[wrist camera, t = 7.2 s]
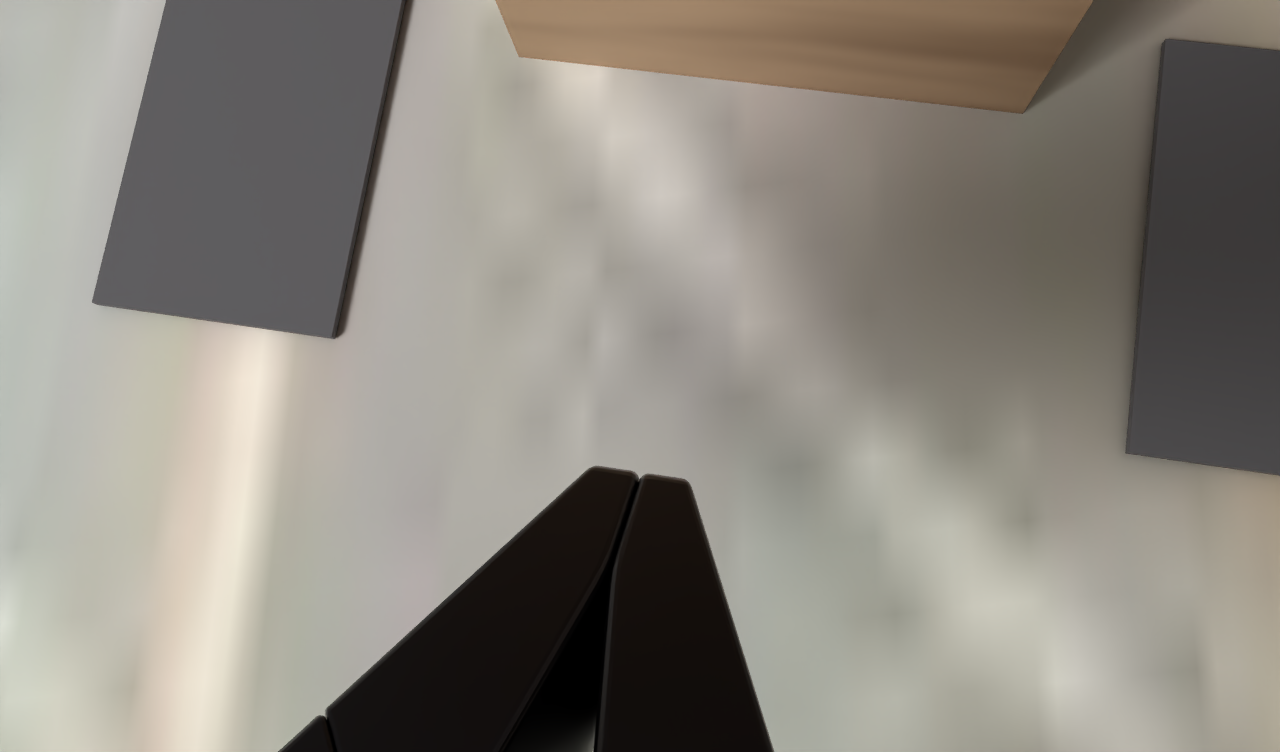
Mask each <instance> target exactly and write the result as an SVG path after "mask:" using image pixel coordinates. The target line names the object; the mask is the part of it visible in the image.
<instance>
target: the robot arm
mask: <svg viewBox="0 0 1280 752" xmlns="http://www.w3.org/2000/svg"><path fill="white" fill-rule="evenodd" d="M325 716H326V718H325V717H324V716H321V715H320V716H317V717H316V718H314V719H313V720H312V721H311V722H310V723H309V724H308V725H307V726H306V727H305V728H304V729H303V730H302V731H300V732H299V733H298V734H297V735H296V736H295V737H294V738H293V739H292V740H291V741H290V742H288V743H287V744H286V745H285V746H284V747H283V748H282V749H281V750H279V751H278V752H592V751H593V752H774V750H773V746H772V743H771V740H770V737H769V734H768V730H767V727H766V724H765V721H764V718H763V714H762V711H761V708H760V705H759V702H758V698H757V695H756V692H755V689H754V686H753V682H752V679H751V676H750V673H749V670H748V666H747V663H746V660H745V657H744V654H743V650H742V647H741V644H740V641H739V637H738V634H737V631H736V628H735V625H734V621H733V618H732V615H731V612H730V609H729V605H728V602H727V599H726V596H725V593H724V589H723V586H722V583H721V580H720V577H719V573H718V570H717V567H716V564H715V561H714V557H713V554H712V551H711V548H710V545H709V541H708V538H707V535H706V532H705V529H704V525H703V522H702V519H701V516H700V513H699V509H698V506H697V503H696V500H695V496H694V493H693V490H692V487H691V485H690V484H689V482H688V481H686V480H685V479H681V478H675V477H668V476H662V475H655V474H645V475H643V476H642V477H641V479H640V480H639V477H638V475H637V474H636V473H635V472H633V471H629V470H622V469H616V468H609V467H603V466H594V467H591V468H589V469H588V470H586V471H585V472H584V473H583V474H582V475H581V476H580V477H579V478H578V479H577V480H576V481H574V482H573V483H572V484H571V485H570V486H569V487H568V488H567V489H566V490H565V491H563V492H562V493H561V494H560V495H559V496H558V497H557V498H556V499H555V500H554V501H553V502H551V503H550V504H549V505H548V506H547V507H546V508H545V509H544V510H543V511H542V512H541V513H539V514H538V515H537V516H536V517H535V518H534V519H533V520H532V521H531V522H530V523H529V524H527V525H526V526H525V527H524V528H523V529H522V530H521V531H520V532H519V533H518V534H516V535H515V536H514V537H513V538H512V539H511V540H510V541H509V542H508V543H507V544H506V545H504V546H503V547H502V548H501V549H500V550H499V551H498V552H497V553H496V554H495V555H494V556H492V557H491V558H490V559H489V560H488V561H487V562H486V563H485V564H484V565H483V566H481V567H480V568H479V569H478V570H477V571H476V572H475V573H474V574H473V575H472V576H471V577H469V578H468V579H467V580H466V581H465V582H464V583H463V584H462V585H461V586H460V587H459V588H457V589H456V590H455V591H454V592H453V593H452V594H451V595H450V596H449V597H448V598H447V599H445V600H444V601H443V602H442V603H441V604H440V605H439V606H438V607H437V608H436V609H434V610H433V611H432V612H431V613H430V614H429V615H428V616H427V617H426V618H425V619H424V620H422V621H421V622H420V623H419V624H418V625H417V626H416V627H415V628H414V629H413V630H412V631H410V632H409V633H408V634H407V635H406V636H405V637H404V638H403V639H402V640H401V641H400V642H398V643H397V644H396V645H395V646H394V647H393V648H392V649H391V650H390V651H389V652H387V653H386V654H385V655H384V656H383V657H382V658H381V659H380V660H379V661H378V662H377V663H375V664H374V665H373V666H372V667H371V668H370V669H369V670H368V671H367V672H366V673H365V674H363V675H362V676H361V677H360V678H359V679H358V680H357V681H356V682H355V683H354V684H352V685H351V686H350V687H349V688H348V689H347V690H346V691H345V692H344V693H343V694H342V695H340V696H339V697H338V698H337V699H336V700H335V701H334V702H333V703H332V704H331V705H330V706H328V707H327V708H326V710H325ZM593 748H594V750H593Z"/></svg>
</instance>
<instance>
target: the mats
mask: <svg viewBox="0 0 1280 752" xmlns="http://www.w3.org/2000/svg"><path fill="white" fill-rule="evenodd" d="M405 1H406V0H166V3H165V7H164V11H163V16H162V20H161V24H160V28H159V32H158V36H157V40H156V44H155V48H154V52H153V56H152V60H151V64H150V68H149V72H148V76H147V81H146V85H145V89H144V93H143V97H142V101H141V105H140V109H139V113H138V117H137V121H136V125H135V129H134V133H133V137H132V141H131V146H130V150H129V154H128V158H127V162H126V166H125V170H124V174H123V178H122V182H121V186H120V190H119V194H118V198H117V202H116V206H115V211H114V215H113V219H112V223H111V227H110V231H109V235H108V239H107V243H106V247H105V251H104V255H103V259H102V263H101V267H100V271H99V275H98V280H97V284H96V288H95V292H94V296H93V300H92V303H95V304H97V305H103V306H110V307H117V308H124V309H131V310H137V311H144V312H151V313H158V314H165V315H172V316H179V317H186V318H193V319H200V320H207V321H214V322H221V323H228V324H234V325H241V326H248V327H255V328H262V329H269V330H276V331H283V332H290V333H297V334H304V335H311V336H318V337H324V338H331V339H335V337H336V332H337V327H338V323H339V318H340V313H341V308H342V303H343V299H344V294H345V289H346V284H347V279H348V275H349V270H350V265H351V260H352V255H353V251H354V246H355V241H356V236H357V231H358V227H359V222H360V217H361V212H362V207H363V203H364V198H365V193H366V188H367V183H368V179H369V174H370V169H371V164H372V159H373V155H374V150H375V145H376V140H377V135H378V131H379V126H380V121H381V116H382V112H383V107H384V102H385V97H386V92H387V88H388V83H389V78H390V73H391V68H392V64H393V59H394V54H395V49H396V44H397V40H398V35H399V30H400V25H401V20H402V16H403V11H404V6H405ZM1125 453H1128V454H1135V455H1142V456H1148V457H1155V458H1162V459H1169V460H1176V461H1183V462H1190V463H1197V464H1204V465H1211V466H1218V467H1225V468H1232V469H1239V470H1245V471H1252V472H1259V473H1266V474H1273V475H1280V51H1277V50H1268V49H1258V48H1248V47H1239V46H1229V45H1220V44H1210V43H1201V42H1191V41H1181V40H1172V39H1165V40H1164V42H1163V43H1162V47H1161V59H1160V70H1159V81H1158V92H1157V104H1156V115H1155V126H1154V137H1153V149H1152V160H1151V171H1150V182H1149V194H1148V205H1147V216H1146V227H1145V239H1144V250H1143V261H1142V272H1141V284H1140V295H1139V306H1138V317H1137V328H1136V340H1135V351H1134V362H1133V373H1132V385H1131V396H1130V407H1129V418H1128V430H1127V441H1126V452H1125Z"/></svg>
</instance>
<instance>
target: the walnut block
mask: <svg viewBox="0 0 1280 752" xmlns="http://www.w3.org/2000/svg"><path fill="white" fill-rule="evenodd" d="M1092 2H1093V0H496V3H497V5H498V8H499V10H500V12H501V15H502V17H503V20H504V22H505V24H506V27H507V29H508V32H509V34H510V36H511V39H512V41H513V44H514V46H515V48H516V51H517V53H518V55H519V57H525V58H534V59H542V60H551V61H560V62H569V63H578V64H587V65H596V66H605V67H613V68H622V69H631V70H640V71H649V72H658V73H667V74H676V75H684V76H693V77H702V78H711V79H720V80H729V81H738V82H747V83H755V84H764V85H773V86H782V87H791V88H800V89H809V90H818V91H826V92H835V93H844V94H853V95H862V96H871V97H880V98H889V99H897V100H906V101H915V102H924V103H933V104H942V105H951V106H960V107H968V108H977V109H986V110H995V111H1004V112H1013V113H1022V114H1023V113H1024V111H1025V109H1026V108H1027V106H1028V105H1029V103H1030V101H1031V100H1032V98H1033V97H1034V95H1035V93H1036V92H1037V90H1038V88H1039V87H1040V85H1041V84H1042V82H1043V80H1044V79H1045V77H1046V76H1047V74H1048V72H1049V71H1050V69H1051V68H1052V66H1053V64H1054V63H1055V61H1056V60H1057V58H1058V56H1059V55H1060V53H1061V52H1062V50H1063V48H1064V47H1065V45H1066V44H1067V42H1068V40H1069V39H1070V37H1071V36H1072V34H1073V32H1074V31H1075V29H1076V28H1077V26H1078V24H1079V23H1080V21H1081V20H1082V18H1083V16H1084V15H1085V13H1086V12H1087V10H1088V8H1089V7H1090V5H1091V4H1092Z"/></svg>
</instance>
